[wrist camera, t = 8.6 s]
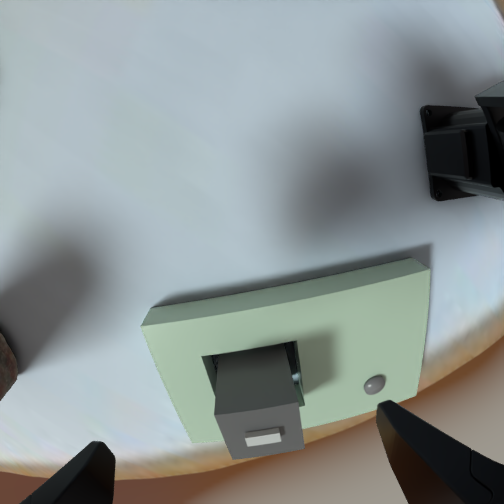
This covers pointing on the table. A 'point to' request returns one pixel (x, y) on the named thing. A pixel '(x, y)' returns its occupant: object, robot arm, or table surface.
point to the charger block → (257, 403)
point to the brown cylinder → (6, 367)
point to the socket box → (301, 342)
